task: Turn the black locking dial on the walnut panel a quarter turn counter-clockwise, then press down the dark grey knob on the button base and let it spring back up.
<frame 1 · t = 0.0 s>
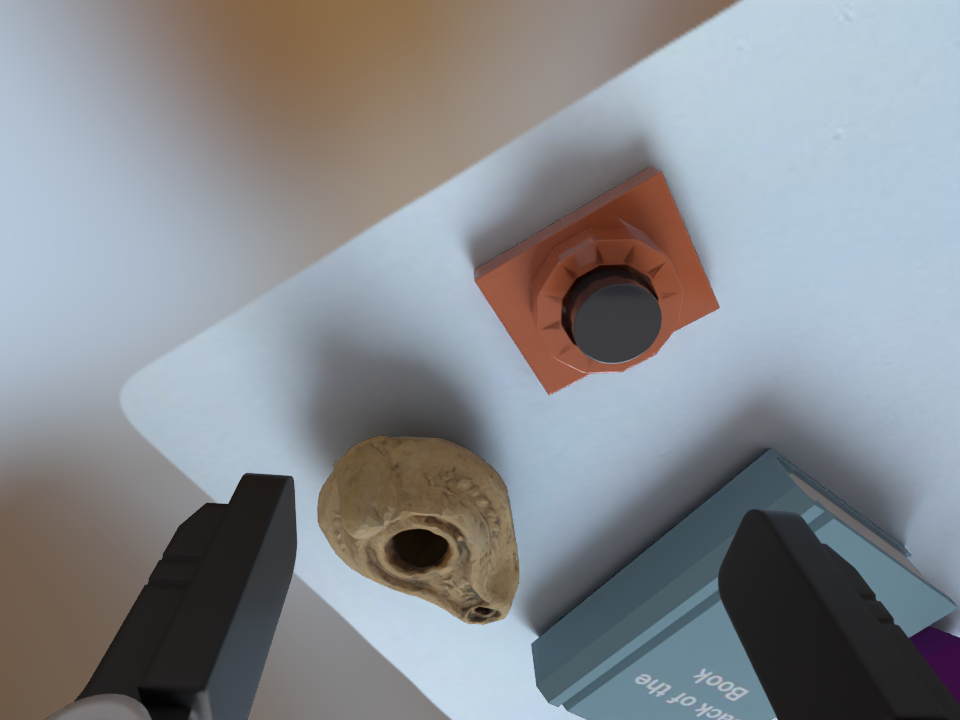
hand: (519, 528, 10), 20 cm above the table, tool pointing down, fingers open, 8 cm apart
book: (709, 589, 42), on the table
perfume bottle: (900, 642, 46), on the table
oil lamp: (437, 488, 37), on the table
dark grey knob: (612, 316, 26), point 4 cm above the table, slide at 0.1 cm
button base: (593, 283, 30), on the table
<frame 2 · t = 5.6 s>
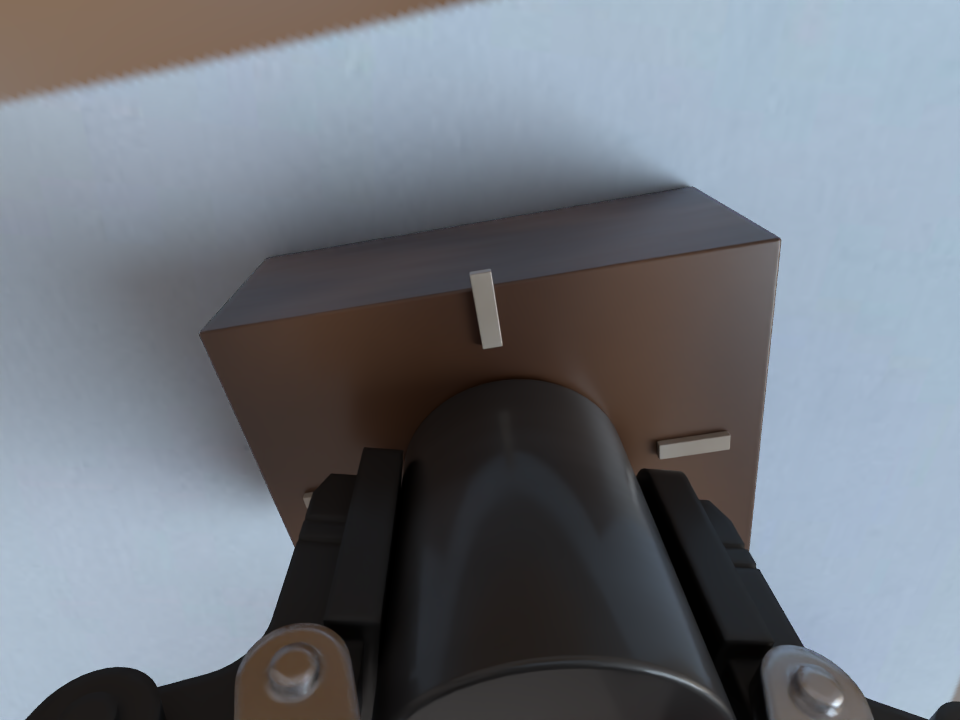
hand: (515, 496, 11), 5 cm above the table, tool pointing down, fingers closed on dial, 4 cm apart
dial panel: (500, 370, 15), on the table
dial: (529, 591, 9), point 7 cm above the table, hinge at 0.1°, touching gripper
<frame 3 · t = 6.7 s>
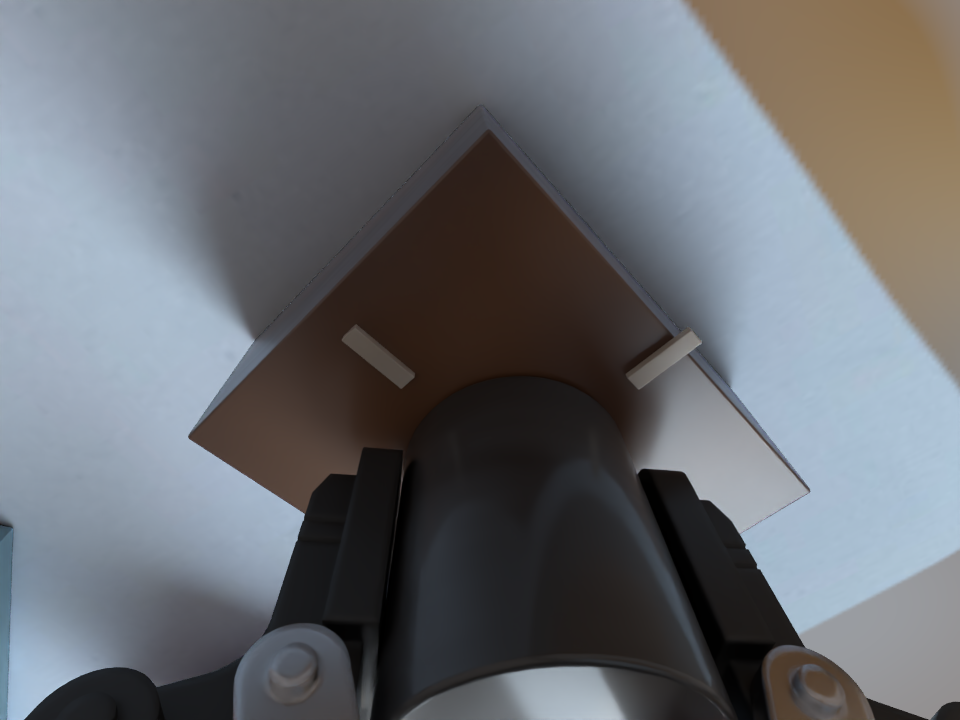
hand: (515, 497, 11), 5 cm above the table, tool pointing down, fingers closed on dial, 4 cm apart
dial panel: (502, 367, 15), on the table
dial: (530, 589, 9), point 7 cm above the table, hinge at 56.0°, touching gripper
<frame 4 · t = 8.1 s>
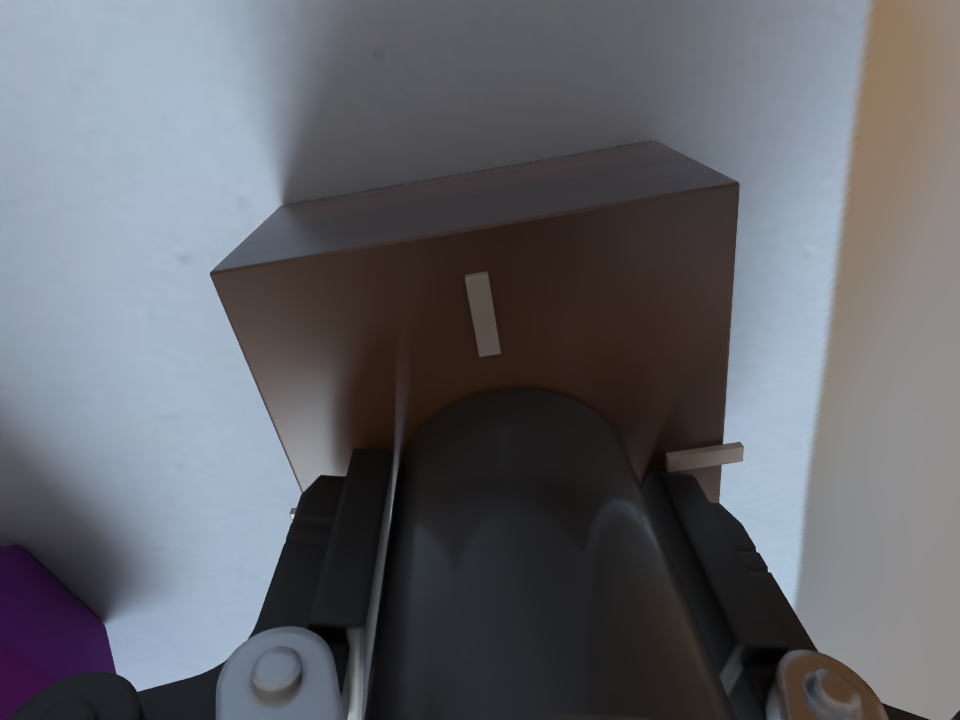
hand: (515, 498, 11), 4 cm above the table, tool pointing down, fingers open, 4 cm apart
dial panel: (499, 374, 14), on the table
perfume bottle: (13, 597, 18), on the table
dial: (530, 620, 8), point 7 cm above the table, hinge at 92.1°
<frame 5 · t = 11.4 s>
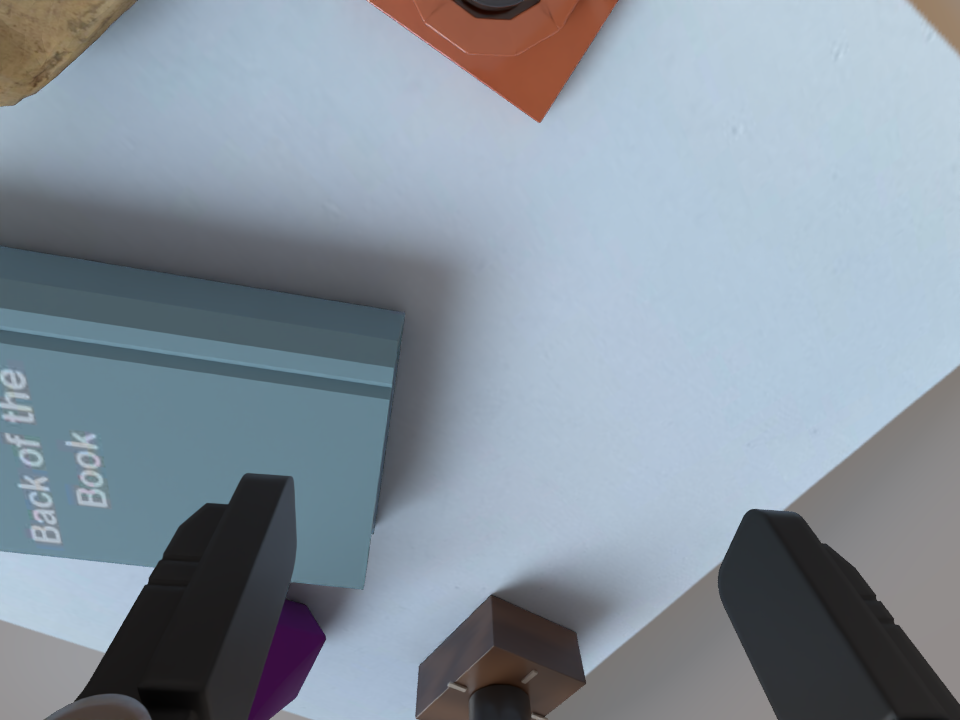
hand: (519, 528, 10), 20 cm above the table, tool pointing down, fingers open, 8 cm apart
book: (192, 398, 33), on the table
dial panel: (496, 649, 44), on the table
perfume bottle: (272, 612, 42), on the table
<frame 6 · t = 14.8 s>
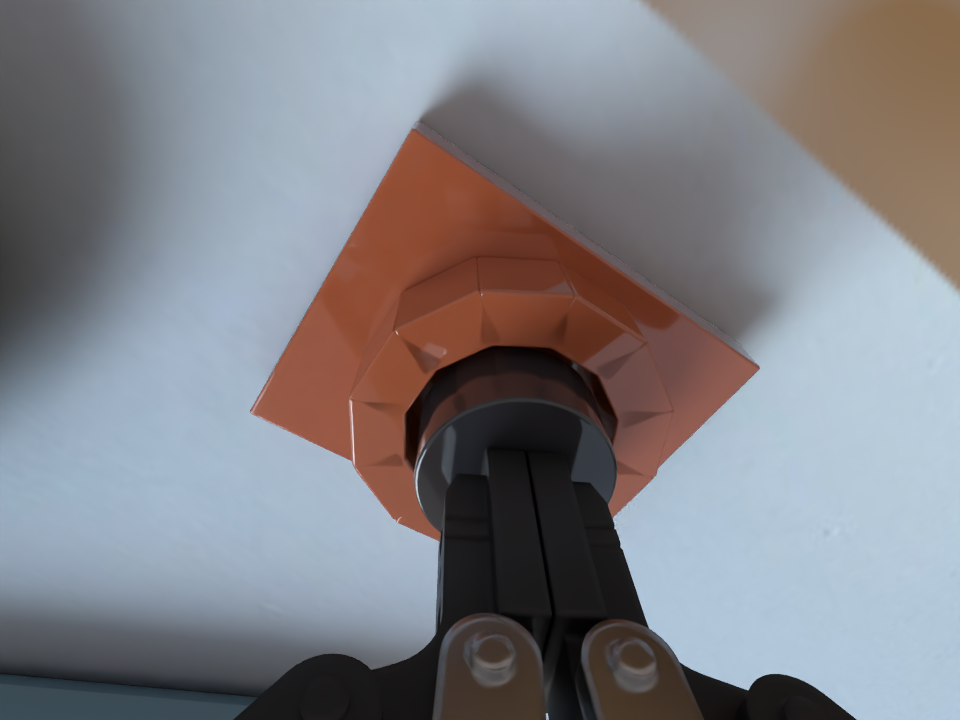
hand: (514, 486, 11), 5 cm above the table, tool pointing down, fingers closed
dark grey knob: (512, 452, 12), point 4 cm above the table, slide at -0.1 cm, touching gripper
button base: (500, 361, 15), on the table
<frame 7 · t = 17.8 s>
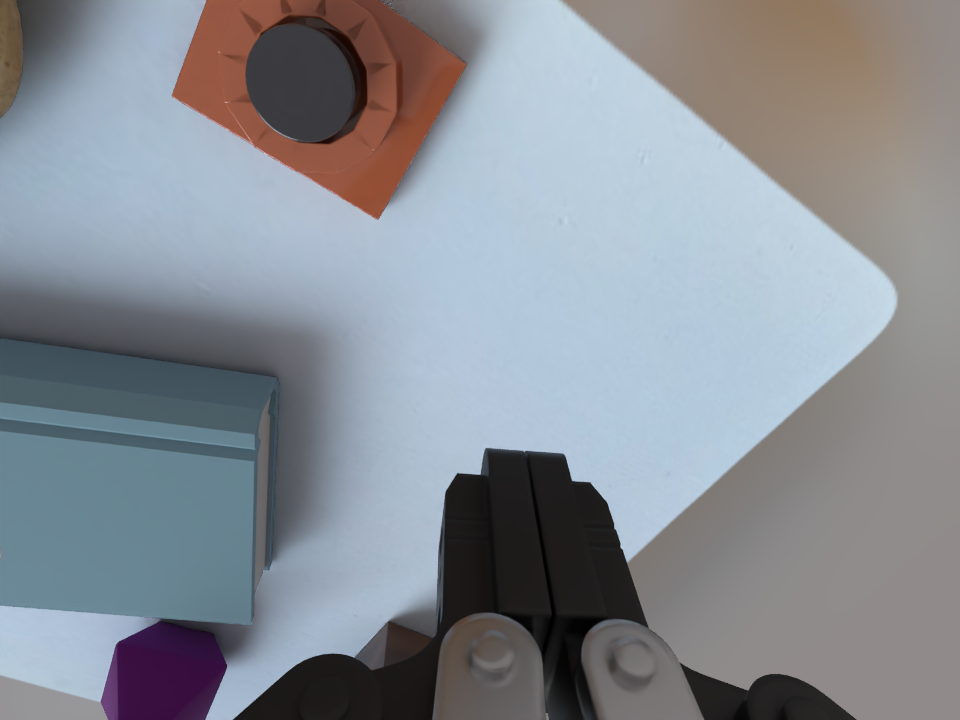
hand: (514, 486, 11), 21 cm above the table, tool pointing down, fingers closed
book: (87, 451, 35), on the table
dial panel: (398, 670, 47), on the table
perfume bottle: (182, 640, 44), on the table
dark grey knob: (306, 84, 22), point 4 cm above the table, slide at 0.1 cm
button base: (325, 78, 26), on the table
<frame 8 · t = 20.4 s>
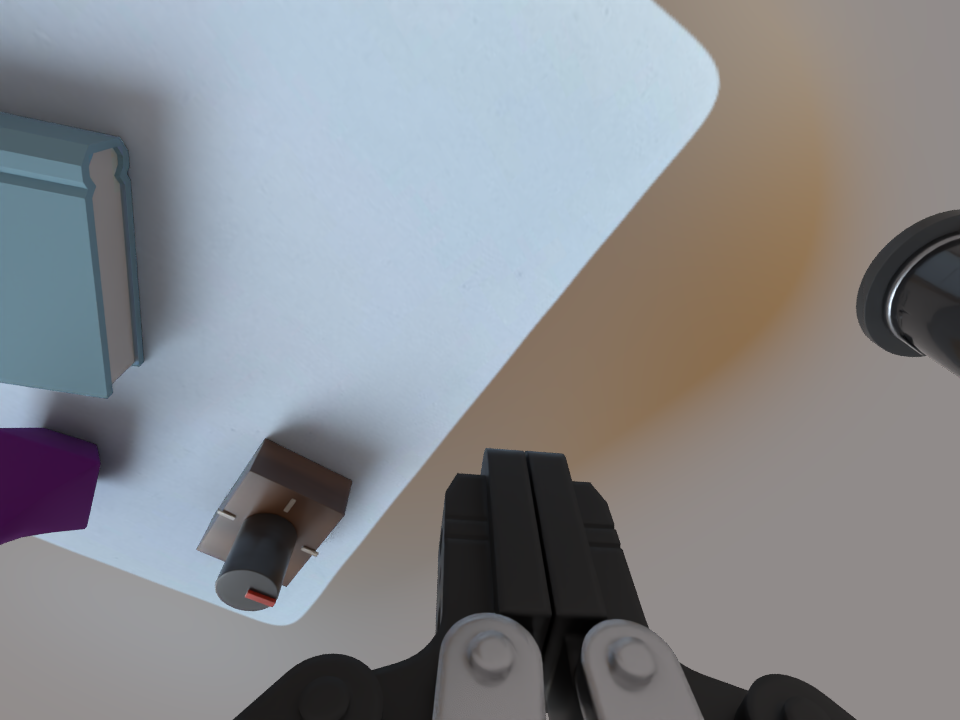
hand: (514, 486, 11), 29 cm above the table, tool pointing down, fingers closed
dial panel: (282, 497, 49), on the table
perfume bottle: (67, 453, 46), on the table
dial: (257, 562, 43), point 7 cm above the table, hinge at 92.1°
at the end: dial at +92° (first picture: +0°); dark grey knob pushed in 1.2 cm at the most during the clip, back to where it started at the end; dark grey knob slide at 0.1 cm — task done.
